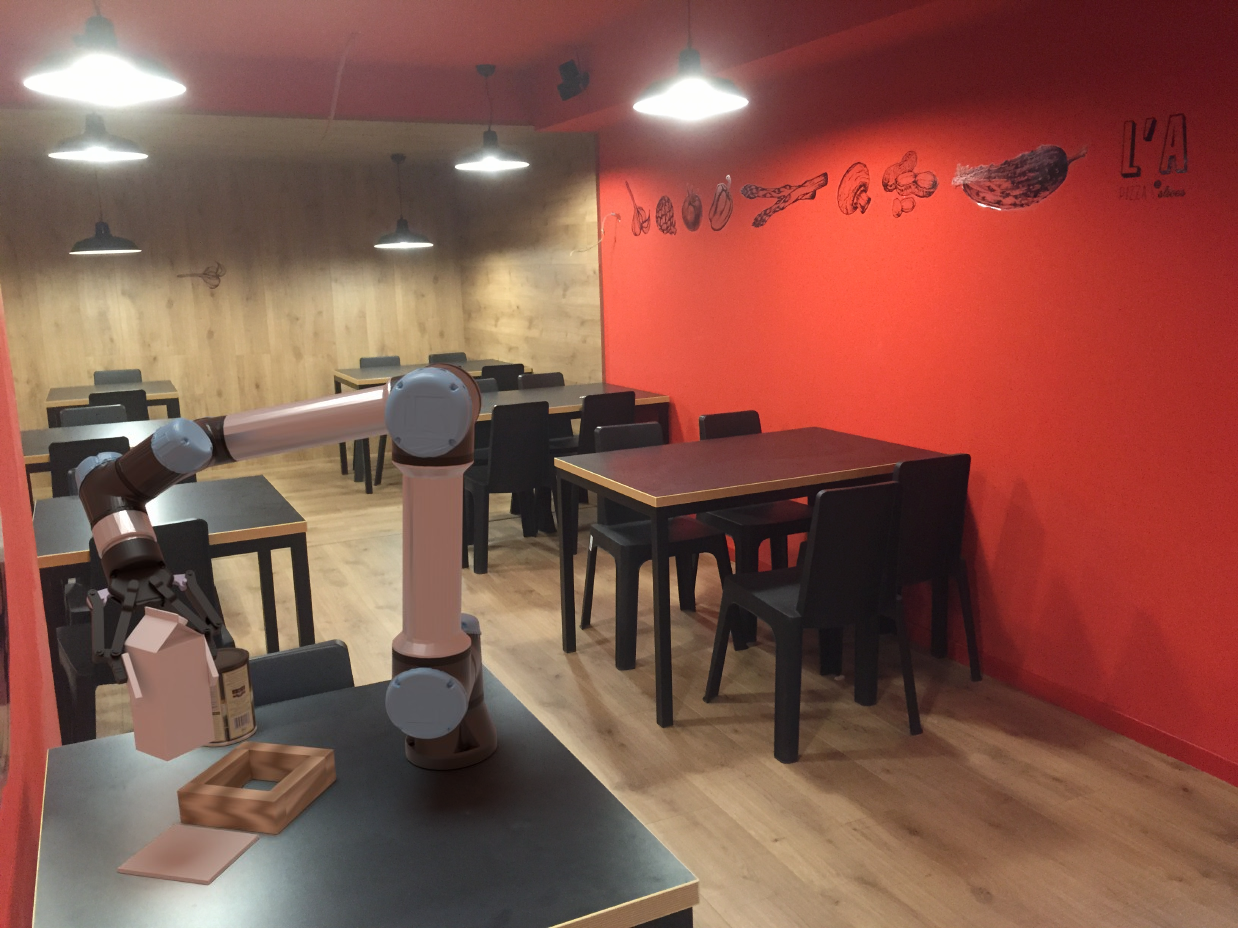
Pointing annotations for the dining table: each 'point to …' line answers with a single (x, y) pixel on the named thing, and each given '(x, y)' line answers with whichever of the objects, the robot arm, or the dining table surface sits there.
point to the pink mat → (189, 854)
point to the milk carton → (170, 686)
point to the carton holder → (233, 807)
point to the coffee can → (232, 698)
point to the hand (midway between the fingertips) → (177, 691)
